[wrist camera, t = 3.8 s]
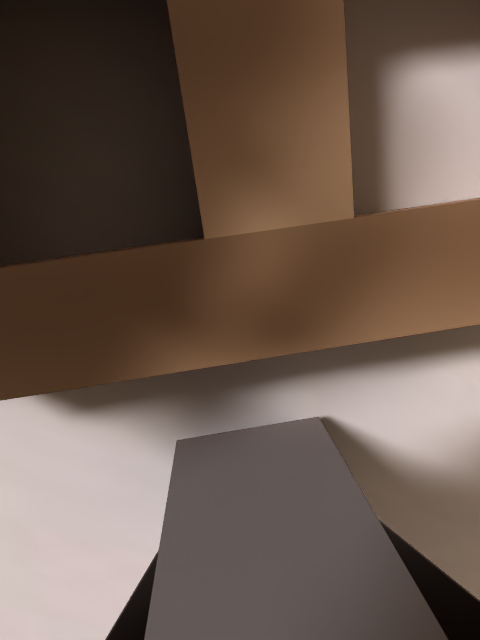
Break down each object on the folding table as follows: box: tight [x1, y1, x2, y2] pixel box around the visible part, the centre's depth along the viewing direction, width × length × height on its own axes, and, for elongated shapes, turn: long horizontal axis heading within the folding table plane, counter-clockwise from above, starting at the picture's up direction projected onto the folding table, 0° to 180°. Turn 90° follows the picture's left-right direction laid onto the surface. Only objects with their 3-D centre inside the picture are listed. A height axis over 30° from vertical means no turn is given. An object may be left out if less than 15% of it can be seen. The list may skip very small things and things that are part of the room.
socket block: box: [0, 0, 480, 400], centre depth 6 cm, size 11×16×3 cm
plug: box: [144, 417, 448, 640], centre depth 7 cm, size 4×4×6 cm
